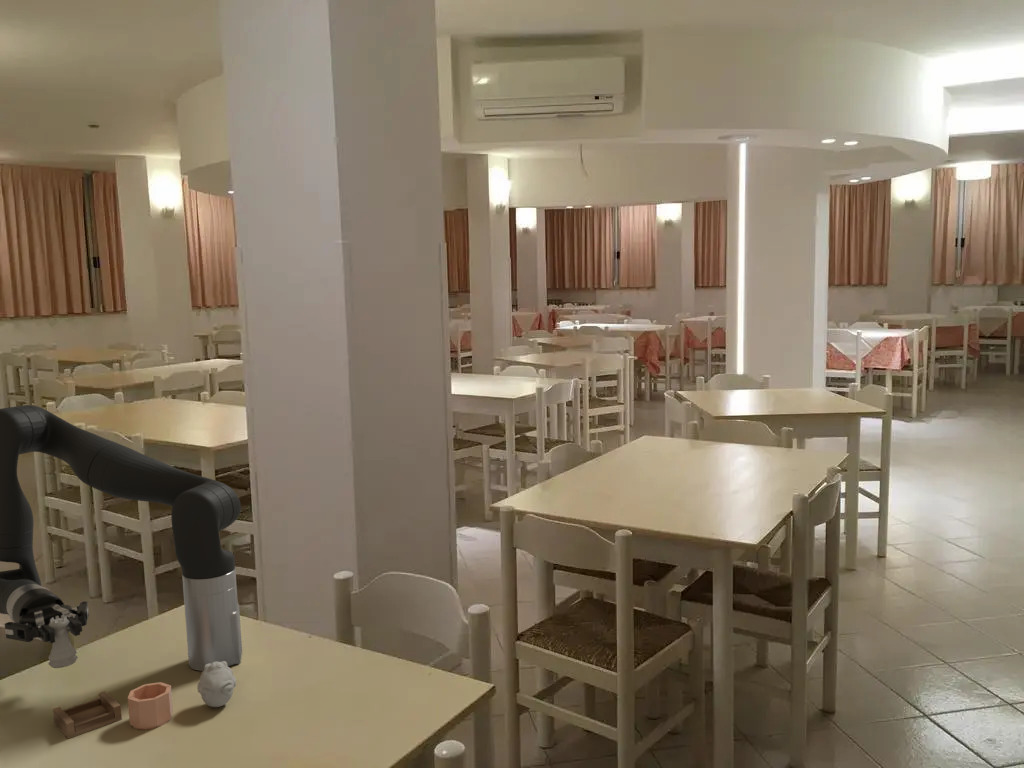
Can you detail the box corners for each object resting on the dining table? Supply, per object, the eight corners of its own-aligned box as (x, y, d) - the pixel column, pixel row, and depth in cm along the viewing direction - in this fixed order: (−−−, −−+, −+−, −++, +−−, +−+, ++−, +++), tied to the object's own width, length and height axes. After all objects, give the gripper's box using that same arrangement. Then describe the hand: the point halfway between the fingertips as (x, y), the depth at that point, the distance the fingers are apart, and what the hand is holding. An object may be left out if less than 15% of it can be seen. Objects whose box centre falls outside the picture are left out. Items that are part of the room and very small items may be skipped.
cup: (174, 708, 140) (172, 680, 139) (169, 726, 134) (167, 697, 133) (135, 713, 138) (132, 685, 138) (127, 732, 132) (125, 703, 132)
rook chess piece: (84, 658, 145) (79, 614, 144) (62, 670, 141) (57, 624, 140) (64, 656, 147) (59, 611, 146) (42, 667, 143) (37, 622, 142)
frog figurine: (237, 692, 145) (234, 653, 144) (237, 711, 138) (234, 670, 137) (199, 698, 143) (196, 659, 142) (198, 718, 136) (195, 676, 135)
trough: (54, 722, 136) (52, 708, 136) (106, 704, 141) (105, 691, 141) (68, 738, 131) (66, 724, 131) (121, 719, 136) (120, 705, 136)
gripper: (-12, 600, 148) (15, 625, 136) (74, 578, 158) (107, 599, 146) (-7, 640, 149) (20, 669, 137) (78, 616, 159) (111, 641, 146)
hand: (65, 633), depth 141 cm, fingers closed on rook chess piece, 3 cm apart
